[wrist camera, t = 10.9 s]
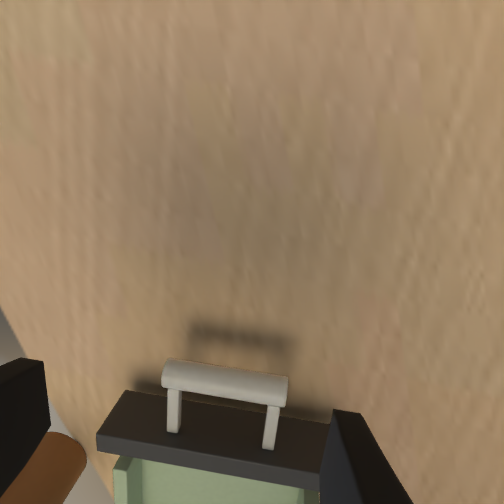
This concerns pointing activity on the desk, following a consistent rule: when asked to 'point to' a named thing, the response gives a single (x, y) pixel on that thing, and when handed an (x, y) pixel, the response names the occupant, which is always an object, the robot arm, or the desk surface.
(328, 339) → the desk surface
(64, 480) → the paper roll
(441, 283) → the desk surface
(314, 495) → the drawer
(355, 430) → the robot arm
